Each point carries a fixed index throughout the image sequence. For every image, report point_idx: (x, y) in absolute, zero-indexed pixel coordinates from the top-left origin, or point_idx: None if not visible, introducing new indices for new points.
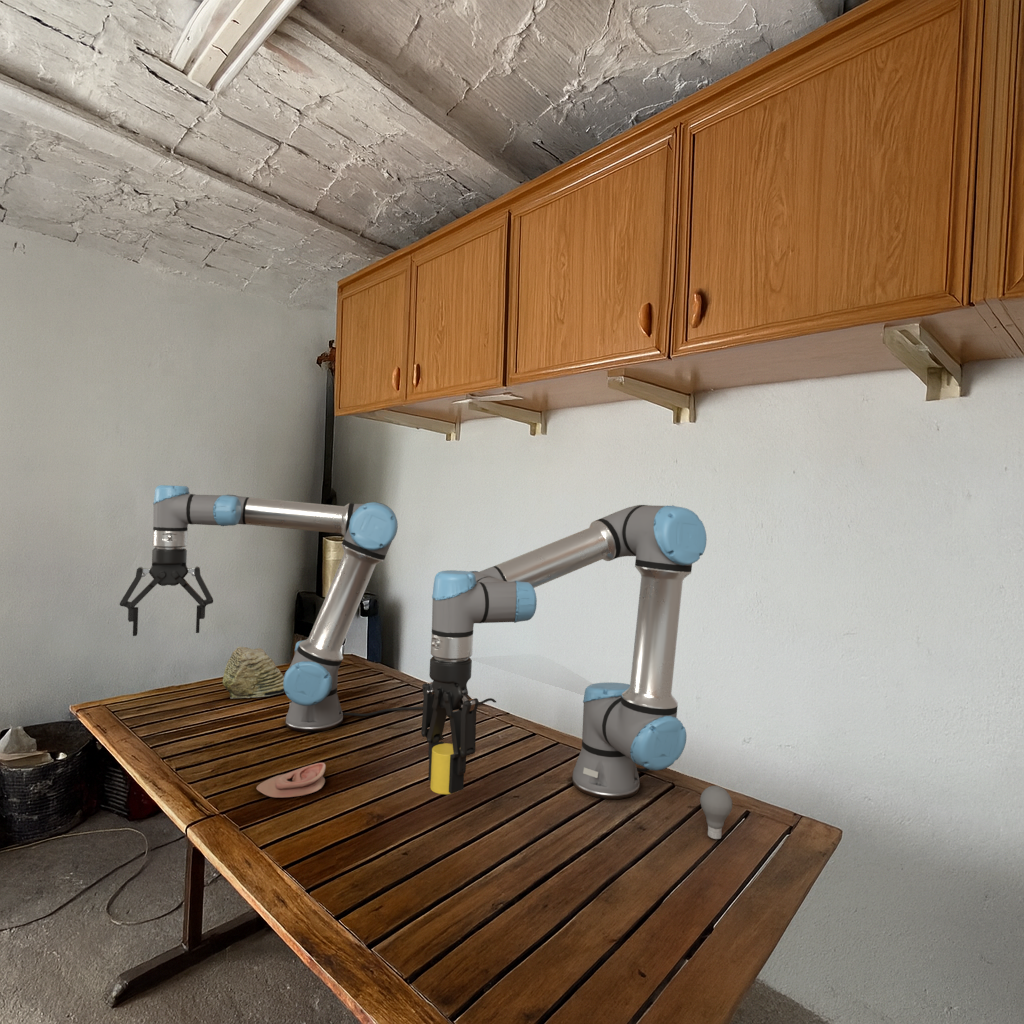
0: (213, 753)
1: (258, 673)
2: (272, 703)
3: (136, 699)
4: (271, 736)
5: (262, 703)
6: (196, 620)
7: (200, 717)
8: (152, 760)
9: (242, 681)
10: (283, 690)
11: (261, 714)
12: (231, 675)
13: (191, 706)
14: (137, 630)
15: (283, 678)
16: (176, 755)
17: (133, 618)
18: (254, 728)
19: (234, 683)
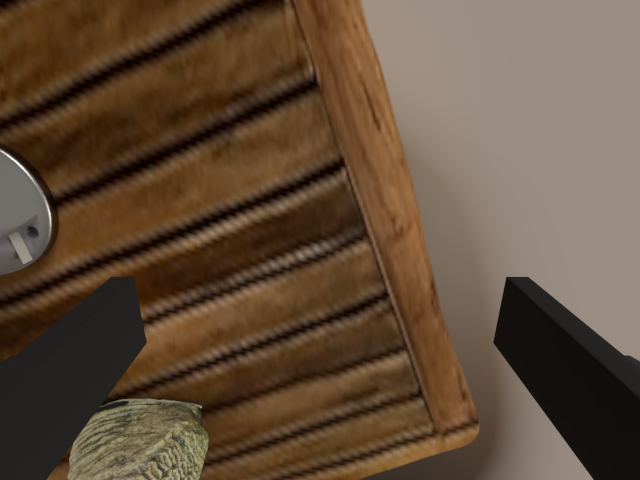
0: (206, 74)
1: (113, 442)
2: None
3: (381, 447)
4: (82, 144)
5: None
6: (73, 328)
7: (254, 316)
8: (337, 77)
9: (158, 425)
10: None
11: None
12: (179, 443)
13: (276, 384)
14: (503, 354)
15: (73, 444)
16: (288, 92)
17: (623, 358)
18: (129, 212)
19: (177, 420)
